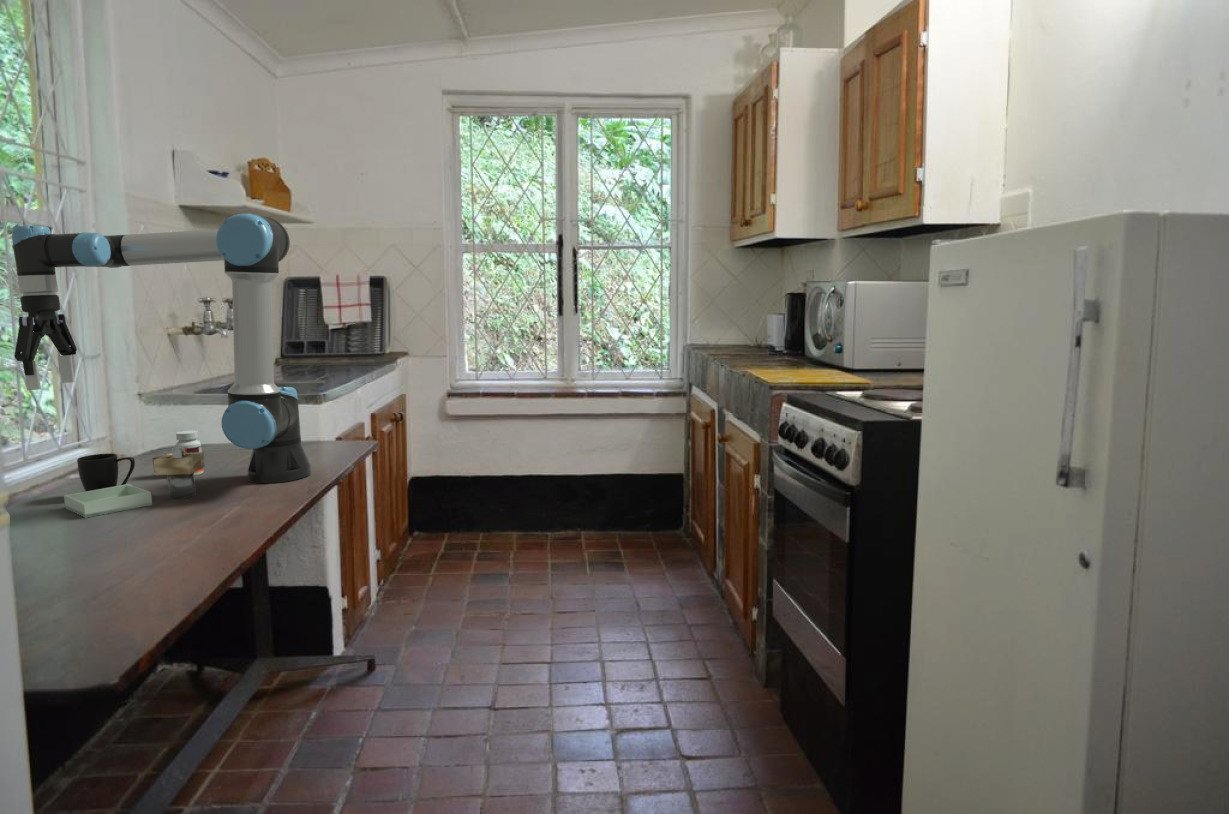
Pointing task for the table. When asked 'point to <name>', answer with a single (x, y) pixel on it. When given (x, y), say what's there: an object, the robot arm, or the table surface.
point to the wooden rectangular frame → (178, 464)
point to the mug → (101, 471)
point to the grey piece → (181, 480)
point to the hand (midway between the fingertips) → (51, 386)
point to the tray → (107, 500)
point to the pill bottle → (189, 444)
